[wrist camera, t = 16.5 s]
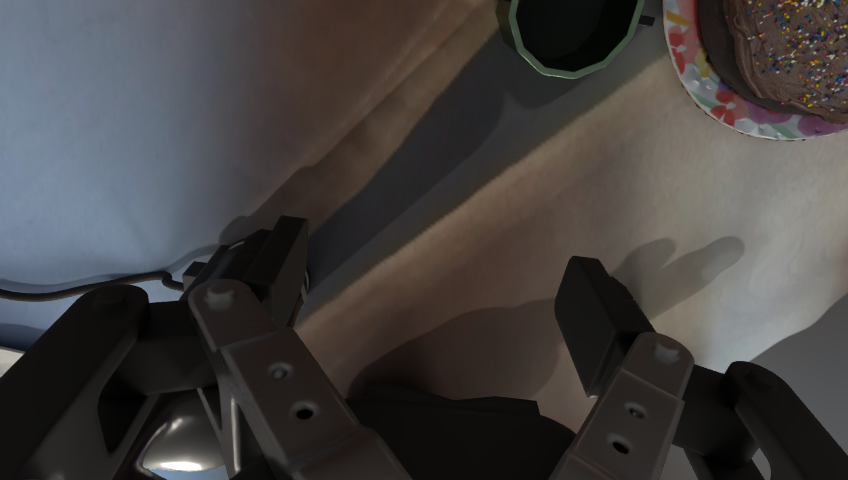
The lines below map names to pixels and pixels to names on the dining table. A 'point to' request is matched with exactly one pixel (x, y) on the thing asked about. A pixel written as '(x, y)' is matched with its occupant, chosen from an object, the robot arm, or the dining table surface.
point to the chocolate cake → (763, 63)
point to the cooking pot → (596, 50)
